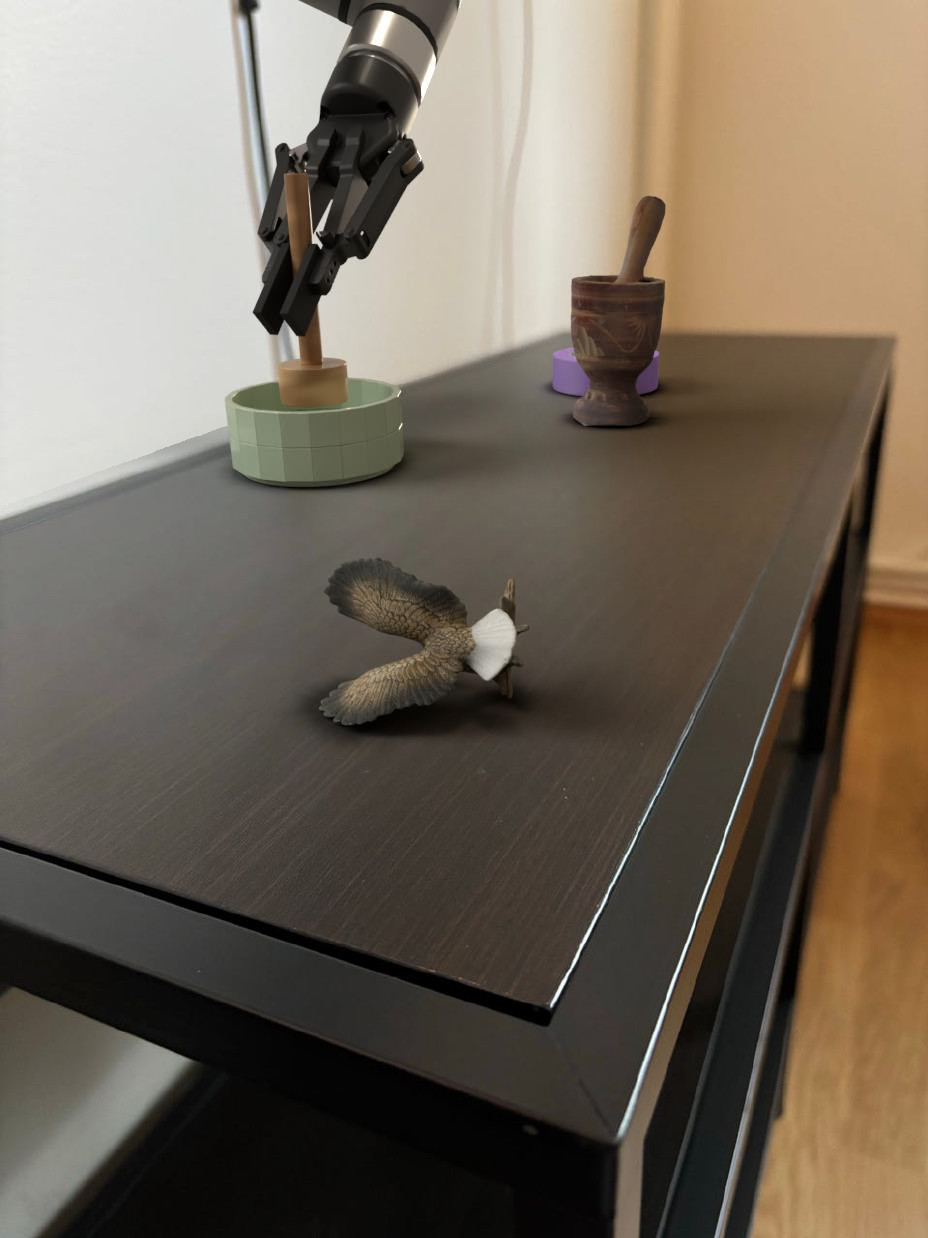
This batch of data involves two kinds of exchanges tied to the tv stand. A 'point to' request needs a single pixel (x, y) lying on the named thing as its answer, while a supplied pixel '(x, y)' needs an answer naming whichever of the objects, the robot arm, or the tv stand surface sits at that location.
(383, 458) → the bowl
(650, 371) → the tape roll
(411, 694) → the eagle figurine
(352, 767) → the tv stand surface
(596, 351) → the mortar and pestle
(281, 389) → the wooden peg stand
